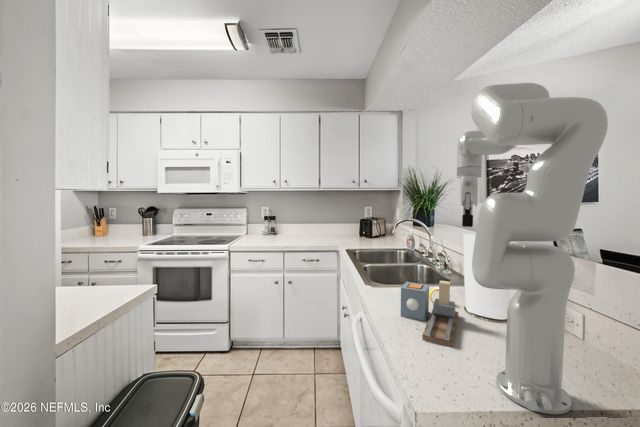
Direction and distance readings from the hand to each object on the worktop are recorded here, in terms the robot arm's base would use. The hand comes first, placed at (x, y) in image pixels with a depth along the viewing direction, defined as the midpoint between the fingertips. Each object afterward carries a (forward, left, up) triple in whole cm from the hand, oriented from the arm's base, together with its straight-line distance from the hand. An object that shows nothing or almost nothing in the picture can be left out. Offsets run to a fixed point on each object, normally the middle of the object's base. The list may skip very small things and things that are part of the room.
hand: (467, 226), depth 98 cm
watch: (+7, +10, -31) cm, 34 cm away
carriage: (-9, +6, -28) cm, 30 cm away
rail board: (-15, +6, -31) cm, 35 cm away
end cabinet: (-9, +16, -31) cm, 36 cm away
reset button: (-9, +16, -24) cm, 30 cm away
